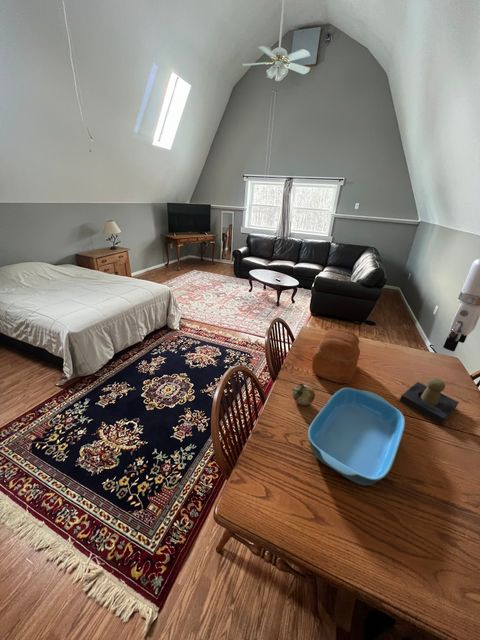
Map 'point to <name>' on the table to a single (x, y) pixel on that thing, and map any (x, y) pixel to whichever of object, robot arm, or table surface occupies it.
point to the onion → (303, 394)
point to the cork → (433, 391)
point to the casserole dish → (357, 435)
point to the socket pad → (430, 411)
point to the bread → (336, 356)
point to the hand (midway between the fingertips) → (453, 345)
